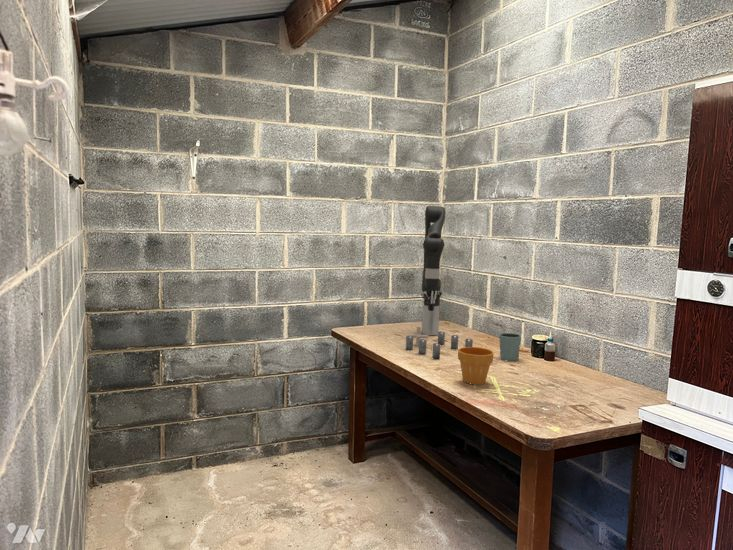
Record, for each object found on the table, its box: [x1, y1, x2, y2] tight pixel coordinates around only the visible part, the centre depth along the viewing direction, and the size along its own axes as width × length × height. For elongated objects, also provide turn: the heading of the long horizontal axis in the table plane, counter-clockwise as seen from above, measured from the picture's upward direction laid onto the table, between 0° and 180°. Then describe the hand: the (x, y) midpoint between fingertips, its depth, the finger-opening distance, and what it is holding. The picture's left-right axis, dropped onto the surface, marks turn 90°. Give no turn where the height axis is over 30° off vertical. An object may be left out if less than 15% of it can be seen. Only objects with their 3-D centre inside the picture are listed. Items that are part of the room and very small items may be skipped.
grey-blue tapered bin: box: [498, 332, 522, 362], centre depth 254 cm, size 10×10×12 cm
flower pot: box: [457, 346, 494, 385], centre depth 215 cm, size 14×14×13 cm
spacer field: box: [405, 331, 474, 360], centre depth 266 cm, size 24×26×7 cm
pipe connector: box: [408, 326, 429, 347], centre depth 277 cm, size 10×10×10 cm
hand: (430, 310), depth 270 cm, fingers closed
